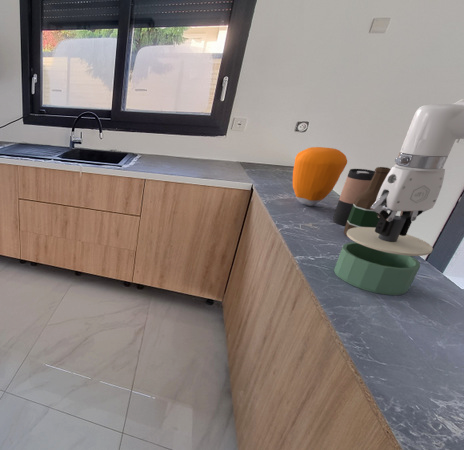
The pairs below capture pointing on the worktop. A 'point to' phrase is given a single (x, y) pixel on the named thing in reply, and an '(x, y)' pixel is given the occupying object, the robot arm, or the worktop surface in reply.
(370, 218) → the beer bottle
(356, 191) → the travel mug
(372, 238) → the lid
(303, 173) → the orange egg-shaped ornament
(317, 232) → the worktop surface
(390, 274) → the green round bowl
